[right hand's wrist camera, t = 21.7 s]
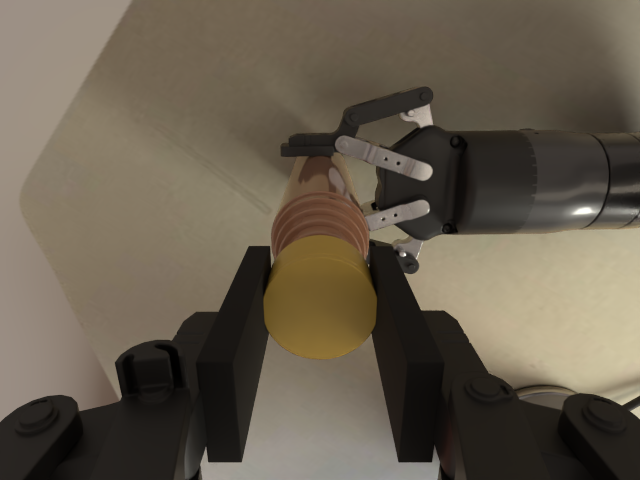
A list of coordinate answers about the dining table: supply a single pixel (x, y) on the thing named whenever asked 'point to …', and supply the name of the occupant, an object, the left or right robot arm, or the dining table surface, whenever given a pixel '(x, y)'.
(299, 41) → the dining table surface
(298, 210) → the bottle
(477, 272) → the dining table surface
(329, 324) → the cap
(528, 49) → the dining table surface
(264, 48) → the dining table surface
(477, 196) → the left robot arm
